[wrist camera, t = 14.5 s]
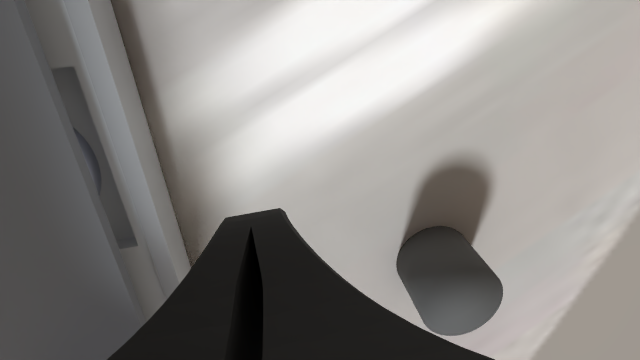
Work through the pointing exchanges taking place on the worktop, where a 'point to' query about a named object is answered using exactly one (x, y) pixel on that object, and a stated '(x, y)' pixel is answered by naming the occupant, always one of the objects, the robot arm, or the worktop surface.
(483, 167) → the worktop surface
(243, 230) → the robot arm
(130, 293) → the housing
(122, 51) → the tray
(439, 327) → the dark grey cylinder
